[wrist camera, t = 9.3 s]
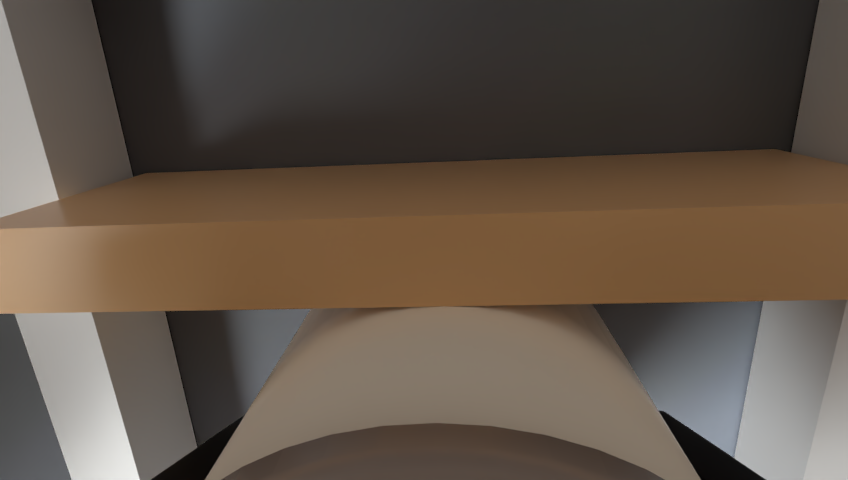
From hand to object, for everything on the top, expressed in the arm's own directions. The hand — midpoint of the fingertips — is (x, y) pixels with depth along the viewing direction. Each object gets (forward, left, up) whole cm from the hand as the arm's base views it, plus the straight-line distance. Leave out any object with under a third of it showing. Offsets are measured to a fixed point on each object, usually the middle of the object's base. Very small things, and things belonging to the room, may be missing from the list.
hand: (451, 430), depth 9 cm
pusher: (0, +4, -2) cm, 5 cm away
